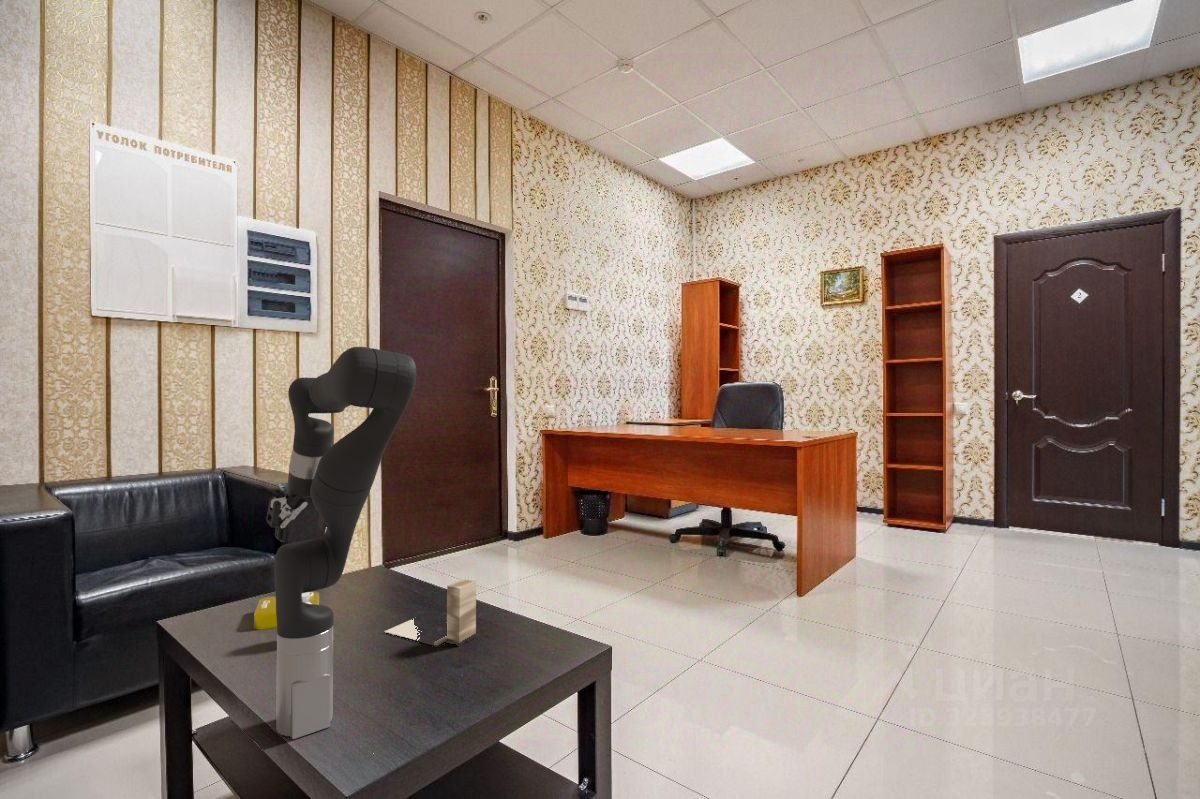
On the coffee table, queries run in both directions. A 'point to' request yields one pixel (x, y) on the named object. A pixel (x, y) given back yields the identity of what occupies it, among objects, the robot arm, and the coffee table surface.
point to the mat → (409, 631)
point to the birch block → (461, 610)
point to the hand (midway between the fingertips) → (301, 534)
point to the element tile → (273, 611)
